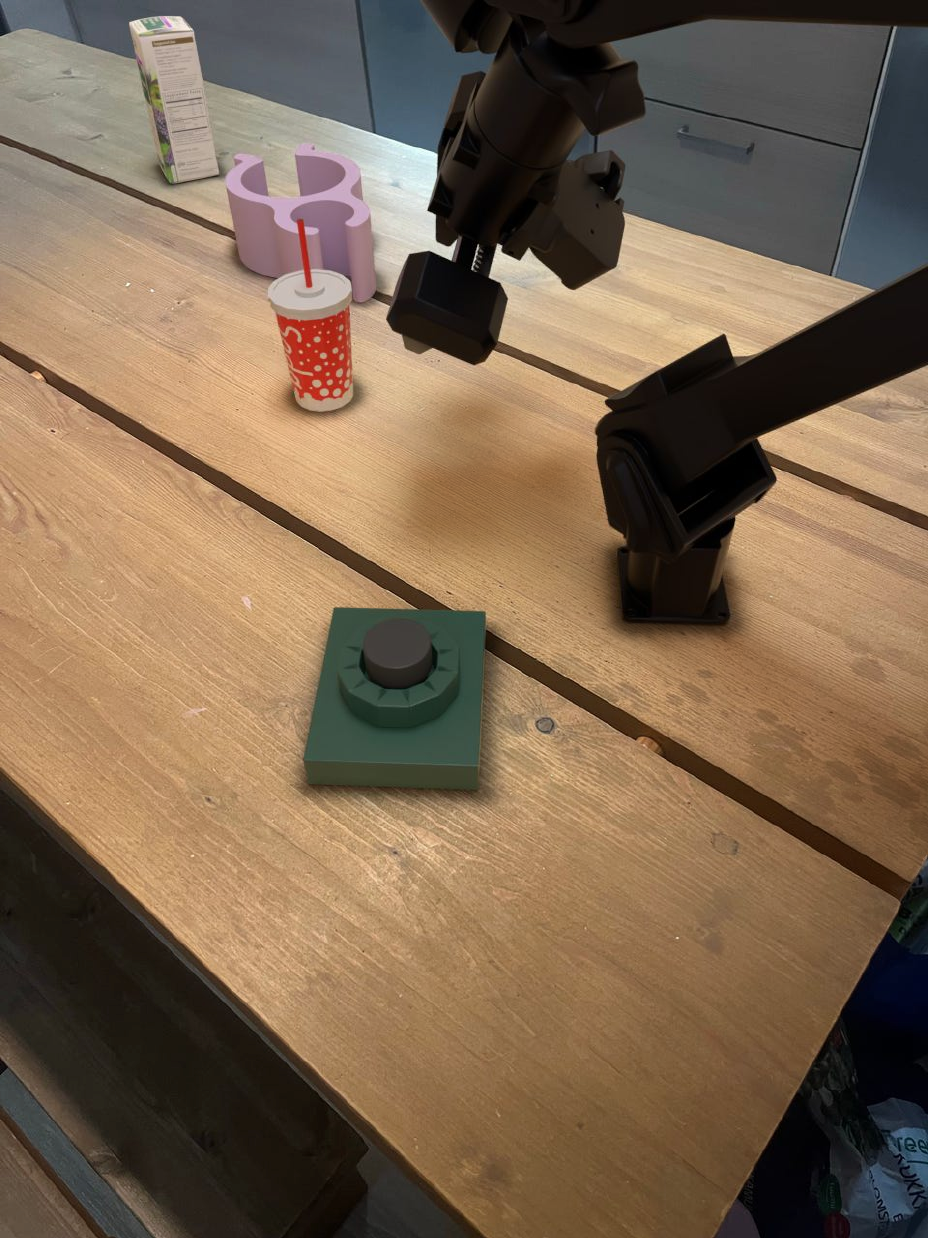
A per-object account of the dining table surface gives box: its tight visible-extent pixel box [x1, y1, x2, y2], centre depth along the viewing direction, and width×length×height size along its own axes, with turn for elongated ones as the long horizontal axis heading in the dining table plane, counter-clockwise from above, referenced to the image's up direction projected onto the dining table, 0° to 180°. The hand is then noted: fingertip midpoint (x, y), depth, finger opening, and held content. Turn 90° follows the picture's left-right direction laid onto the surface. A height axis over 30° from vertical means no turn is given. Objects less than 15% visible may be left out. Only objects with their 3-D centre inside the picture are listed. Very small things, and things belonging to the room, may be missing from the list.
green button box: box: [302, 606, 487, 791], centre depth 52 cm, size 11×9×4 cm
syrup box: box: [128, 15, 221, 184], centre depth 102 cm, size 6×6×14 cm
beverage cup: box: [267, 219, 354, 413], centre depth 71 cm, size 6×6×14 cm
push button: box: [363, 618, 432, 689], centre depth 51 cm, size 4×4×2 cm
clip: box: [224, 142, 377, 304], centre depth 89 cm, size 20×12×7 cm, turn 23°
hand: (428, 294), depth 64 cm, fingers open, 9 cm apart
